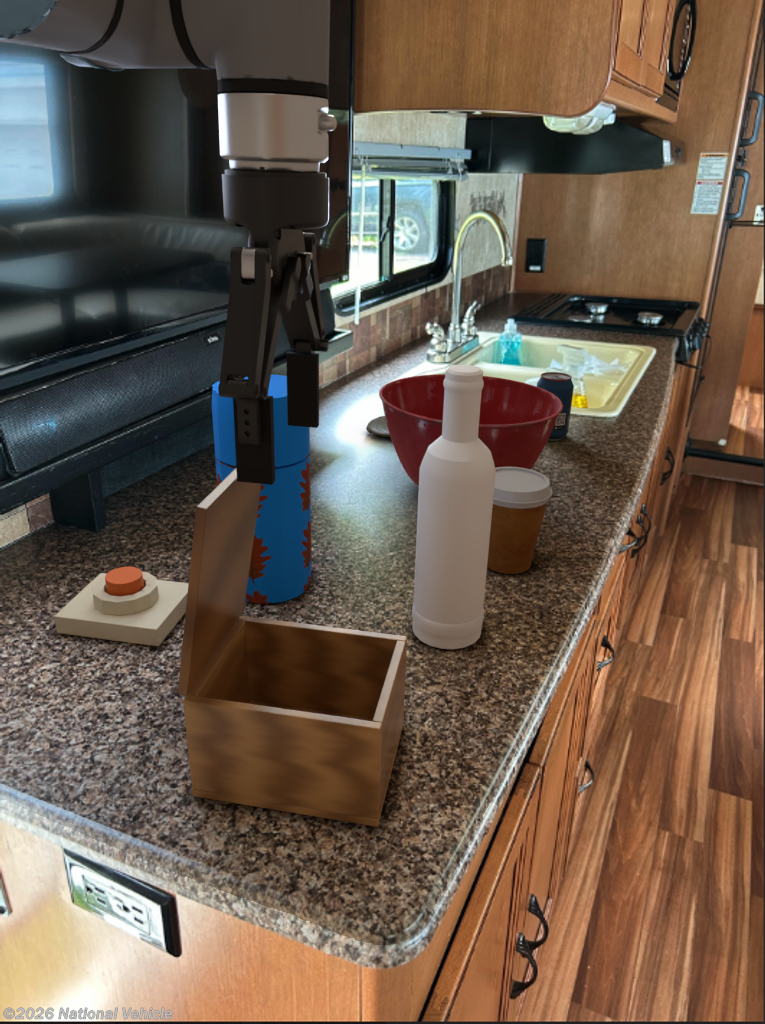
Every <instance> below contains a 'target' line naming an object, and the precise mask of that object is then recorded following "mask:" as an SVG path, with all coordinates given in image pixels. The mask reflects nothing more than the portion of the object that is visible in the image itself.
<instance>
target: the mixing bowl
mask: <svg viewBox="0 0 765 1024" xmlns="http://www.w3.org/2000/svg"><path fill="white" fill-rule="evenodd" d="M445 374H446V373H437V374H436V373H435V374H423V375H422V374H421V375H414V376H407V377H402V378H399V379H396V380H393V381H390V382H388V383H386V384H384V385H383V386H381V388H380V389H379V392H378V396H379V399H380V400H381V404H382V408H383V414H384V416H385V419H386V423H387V427H388V430H389V434H390V437H389V438H390V440H391V443H392V446H393V448H394V452H395V453H396V456H397V458H398V460H399V462H400V464H401V466H402V468H403V470H404V471H405V473H406V475H407V476H408V478H409V479H410V480H411V481H412V482H413V483H414V484H415V485H417V486H418V487H419V471H420V466H421V463H422V460H423V458H424V455H425V453H426V451H427V449H428V447H429V445H431V444H432V443H433V442H434V441H435V440H437V439H438V438H439V437H440V436H441V435H442V425H443V408H444V391H445V388H444V385H443V381H444V379H445ZM482 379H483V382H484V386H483V388H482V391H481V404H480V417H479V429H478V438H479V439H480V440H481V441H482V442H483V443H484V444H485V445H486V446H487V447H488V449H489V450H490V451H491V454H492V458H493V461H494V465H495V468H498V467H519V468H526V469H530V470H532V468H533V467H534V465H535V464H536V463H537V461H538V459H539V457H540V456H541V455H542V452H543V451H544V449H545V447H546V445H547V443H548V438H549V436H550V434H551V432H552V429H553V427H554V424H555V422H556V419H557V417H558V414H559V413H560V412H561V411H562V409H563V404H562V402H561V400H560V399H559V398H558V397H557V396H555V395H554V394H552V393H551V392H549V391H546V390H544V389H542V388H539V387H537V385H533V384H530V383H526V382H522V381H518V380H514V379H509V378H503V377H497V376H487V375H483V378H482Z"/></svg>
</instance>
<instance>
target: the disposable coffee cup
mask: <svg viewBox="0 0 765 1024" xmlns="http://www.w3.org/2000/svg"><path fill="white" fill-rule="evenodd" d="M495 470H496V473H495V485H494V496H493V507H492V518H491V529H490V540H489V551H488V562H487V569H489V570H491V571H494V572H495V573H496V572H497V573H501V574H507V575H515V574H517V575H518V574H521V573H525V572H526V571H528V570H529V569H530V568H531V565H532V562H533V557H534V554H535V550H536V546H537V542H538V538H539V535H540V531H541V528H542V522H543V521H544V515H545V512H546V508H547V504H548V502H549V501H550V498H552V496H553V489H552V487H551V482H550V479H549V478H548V477H547V476H546V475H545V474H544V473H542V472H539V471H537V470H534V469H531V470H530V469H526V468H519V467H498V468H495Z"/></svg>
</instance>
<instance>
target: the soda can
mask: <svg viewBox="0 0 765 1024" xmlns="http://www.w3.org/2000/svg"><path fill="white" fill-rule="evenodd" d="M572 378H573V377H572V375H570V374H568V373H565V372H557V371H546V372H543V373H541V374H540V377H539V379H538V380H537V382H536V386H537V387H539V388H542V389H544V390H546V391H549V392H551V393H552V394H554V395H555V396H557V397H558V398H559V399H560V400H561V402H562V404H563V409H562V411H561V412H560V413H559V414H558V417H557V419H556V422H555V424H554V427H553V429H552V432H551V434H550V436H549V438H548V441H550V442H557V441H561V440H563V439H565V437H566V436H567V434H568V433H569V428H570V419H571V414H572V413H571V411H572V404H573V398H574V397H573V396H574V389H575V385H574V383H573V380H572ZM548 441H547V442H548Z"/></svg>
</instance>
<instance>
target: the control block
mask: <svg viewBox="0 0 765 1024" xmlns="http://www.w3.org/2000/svg"><path fill="white" fill-rule="evenodd" d="M106 574H107V573H104V572H100V573H99V574H97V576H96V577H95V578H93V579H92V580H91V581H90V582H89V583H88V584H87V585H86V586H85V587H84V588H83V589H82V590H81V591H80V592H79V593H77V594H76V595H75V596H74V597H73V598H72V599H71V600H70V601H69V602H68V603H66V604H65V605H64V606H63V607H62V608H61V609H60V610H59V611H58V612H57V613H56V614H55V615H53V619H54V624H55V629H56V633H57V634H63V635H69V636H77V637H85V638H91V639H99V640H108V641H114V642H115V641H116V642H121V643H122V642H123V643H129V644H137V645H143V646H152V647H160V646H161V645H162V643H163V642H164V640H165V639H166V638H167V636H168V635H169V634H170V633H171V632H172V630H173V629H174V628H175V627H176V625H177V624H178V623H179V621H180V620H181V619H182V618H183V617H184V616H185V614H186V604H187V594H188V584H189V582H180V581H173V580H164V579H163V580H162V579H157V577H156V576H155V575H153V574H151V573H149V572H147V571H142V574H143V582H144V588H143V590H142V591H140V592H137V593H135V594H133V595H126V596H113V595H109V594H108V593H107V589H106V582H105V576H106Z"/></svg>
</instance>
